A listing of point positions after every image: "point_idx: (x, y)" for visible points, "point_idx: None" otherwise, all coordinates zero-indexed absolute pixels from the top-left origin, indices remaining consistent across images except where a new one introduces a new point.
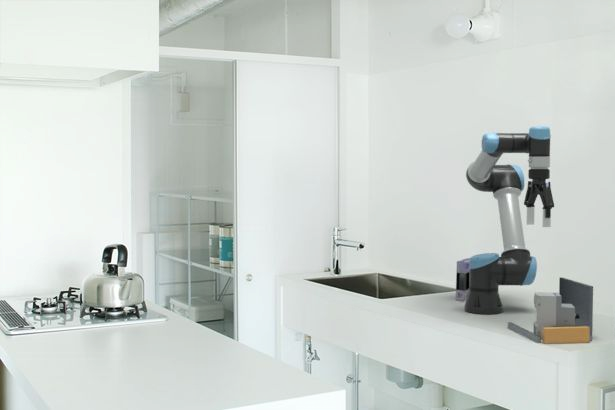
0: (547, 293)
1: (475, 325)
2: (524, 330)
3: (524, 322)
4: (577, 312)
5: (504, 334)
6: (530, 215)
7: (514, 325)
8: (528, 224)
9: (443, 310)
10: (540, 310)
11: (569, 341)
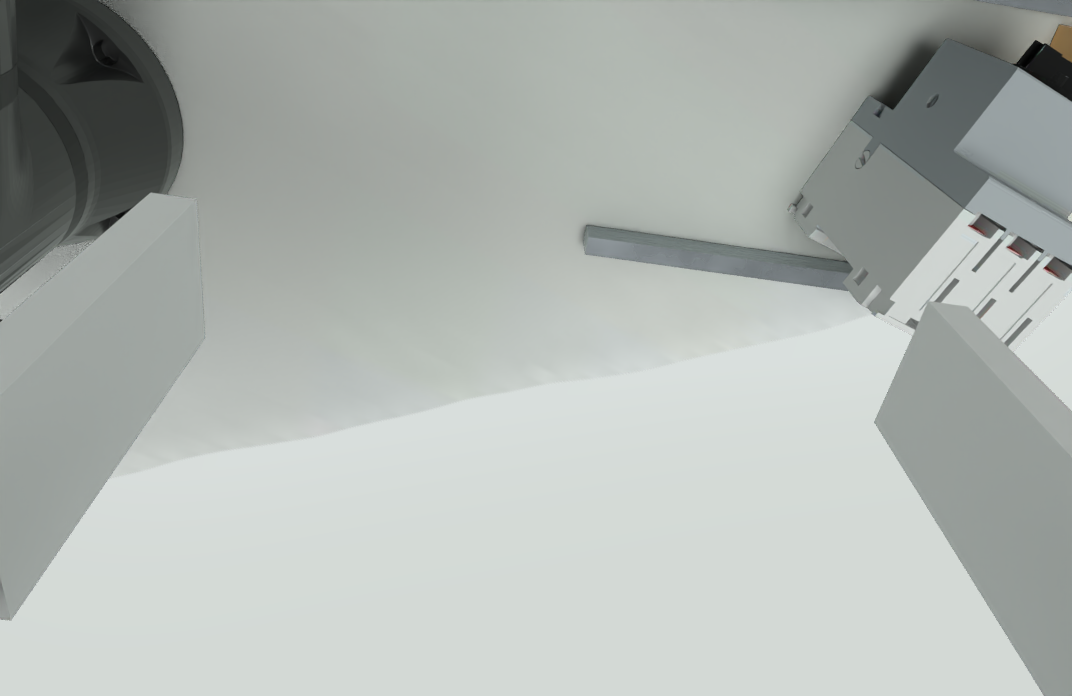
0: (970, 272)
1: (479, 359)
2: (804, 284)
3: (471, 60)
4: None
5: (718, 336)
6: (117, 388)
7: (676, 265)
8: (201, 317)
9: None
10: None
11: None
